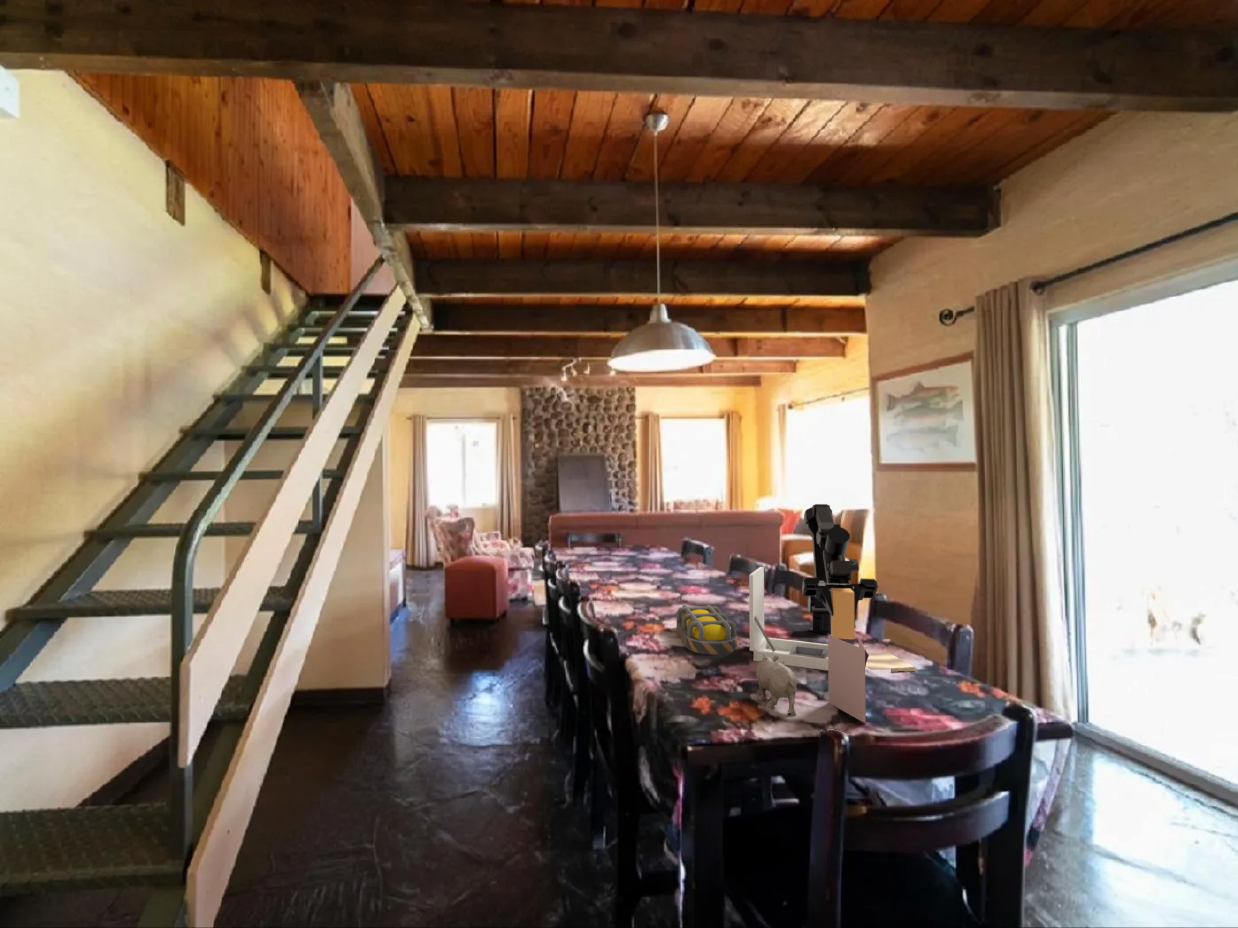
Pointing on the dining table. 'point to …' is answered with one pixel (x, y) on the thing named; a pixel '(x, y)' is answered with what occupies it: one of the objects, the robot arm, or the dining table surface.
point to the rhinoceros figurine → (776, 682)
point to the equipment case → (784, 649)
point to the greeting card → (847, 677)
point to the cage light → (706, 630)
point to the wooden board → (887, 662)
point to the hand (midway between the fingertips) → (843, 615)
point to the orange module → (842, 613)
